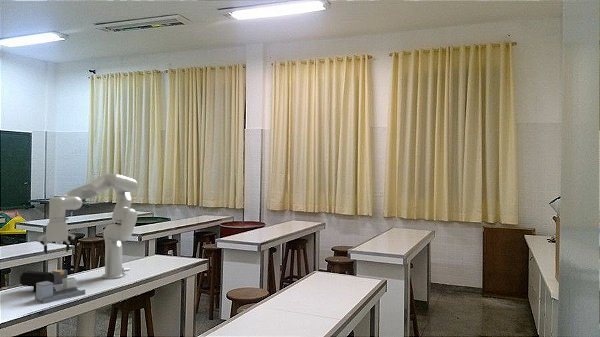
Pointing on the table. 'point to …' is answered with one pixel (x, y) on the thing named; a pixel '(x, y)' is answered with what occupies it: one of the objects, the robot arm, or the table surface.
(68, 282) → the block
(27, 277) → the security camera
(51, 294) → the mounted module
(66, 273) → the relay block
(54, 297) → the gray flat slab
